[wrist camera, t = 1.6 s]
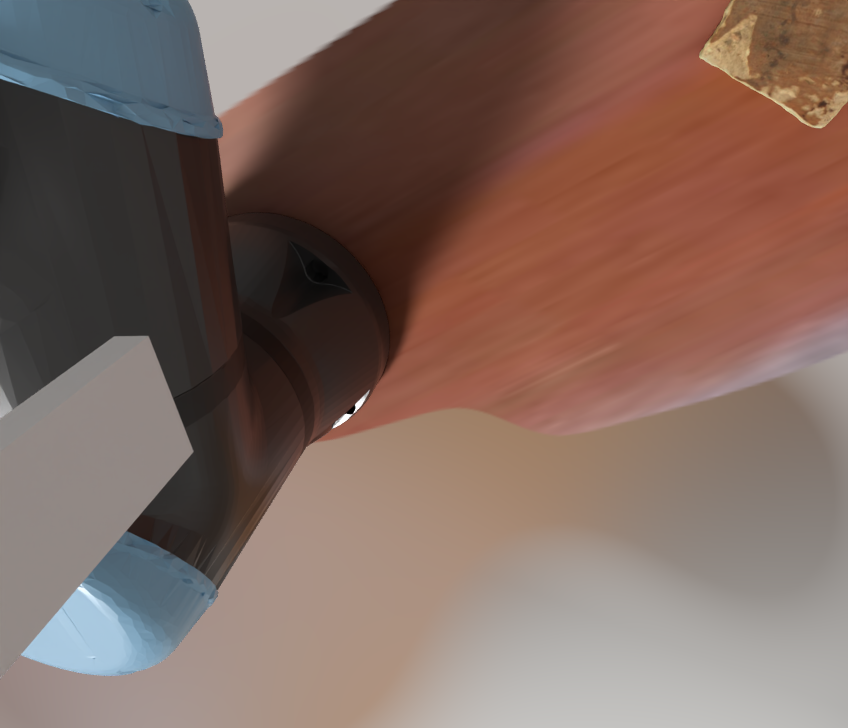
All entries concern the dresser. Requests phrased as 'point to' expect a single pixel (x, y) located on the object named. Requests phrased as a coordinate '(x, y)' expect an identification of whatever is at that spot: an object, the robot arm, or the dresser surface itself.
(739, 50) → the shard
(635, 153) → the dresser surface
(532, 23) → the dresser surface
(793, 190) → the dresser surface
